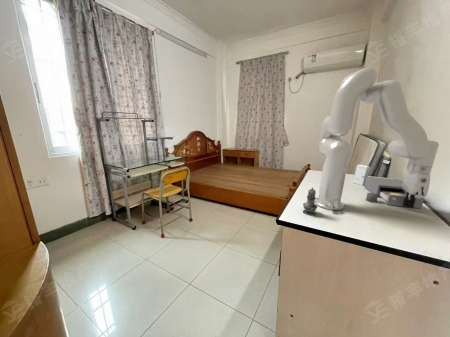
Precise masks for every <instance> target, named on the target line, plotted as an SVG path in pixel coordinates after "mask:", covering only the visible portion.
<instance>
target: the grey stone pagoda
mask: <svg viewBox="0 0 450 337" xmlns="http://www.w3.org/2000/svg"><path fill="white" fill-rule="evenodd" d="M307 191H308V193H307V196H306V198H307V199H306V202H304V203H303V204H302V206H303V210H302V213H303V214H304V215H307V216H312V217H313V216H316V212H315V211H316V210H317V209H318V205H316V204H315V199H316V198H317V197H316V190H315V189H314V187H311V188H310V189H308V190H307Z"/></svg>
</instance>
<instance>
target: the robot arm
mask: <svg viewBox="0 0 450 337" xmlns="http://www.w3.org/2000/svg"><path fill="white" fill-rule="evenodd" d="M377 78H378V73H377V71H376V69H374V68H373V67H365V68H362V69H359V70H356V71H355V72H352V73H350V74H348V75H346V76H345V77H344V78H343V79H342V80H341V82H340V85H339V88H338V89H337V91H336V93H335V95H334V97H333V101H332V105H331V106H332V107H331V111H330V115H328V116H326V117H325V118H324V119H323V120H322V122H321V126H320V130H319V140H318V141H319V142H318V149H319V150H318V151H319V152H320V154H321V155H322V156H324V157H325V160H324V163H323V166H322V171H321V178H320V184H319V192H318V197H315V198H316V199H315V202H314V203H315V205H317V207H319V208H323V209H325V210H330V211H331V210H332V211H341V210H343V209H344V208H345V207H344V206H345V204H344V203H343V202H342V197H343V191H344V186H345V182H346V181H345V179H346V174H347V169H348V165H349V162H350V159H351V158H352V154H353V149H352V145H351V144H350V143H349V142H348V141H346V140H343V139H341V137H346V135H349V134H350V133H351V132H352V128H353V123H354V117H355V110H356V107H357V106H356V105H357V102H358V101H361V102H363V103H367V104H376V106H377V109H378V113H379V115H380V119H381V122H382V123H383V124H384V125H386V126H387V127H388V128H390V129H392V130H394V131H395V132H396V133H397V134H399V136H400V137H401V138H399V139H394V140H392V141H390V142H389V143H388V146H387V150H388V152H389V153H390V154H392V155H393V156H397V157H399V158H400V157H401V158H405V159H408V162H407V164H406V169H405V172H404V173H405V174H404V175H403V176H404V177H403V179H402V189H403V191H404V192H405V196H404V197H405V199H404V202H403V206H402V207H405V208H408V209H409V208H410V209H413V208H414V203H415V200H417V199H421V198H422V196H423V197H426V196H427V195H428V192H429V188H430V182H431V171H432V169H433V165H434V161H435V159H436V155H437V152H438V149H439V146H440V145H439V142H438V141H436V140H431V139H430V140H429V139H428V136H427V133H426V131H425V129H424V127H423V126H422V125H421V124H420V123H419V122H418V121H417V120H416V118H414V117H413V116H412V115H411V114H410V112H409V109H408V104H407V102H406V98H405V95H404V92H403V88H402V85H401V83H400V82H399V81H398V80H395V79H389V80H383V81H378V82H376V81H377Z"/></svg>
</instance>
